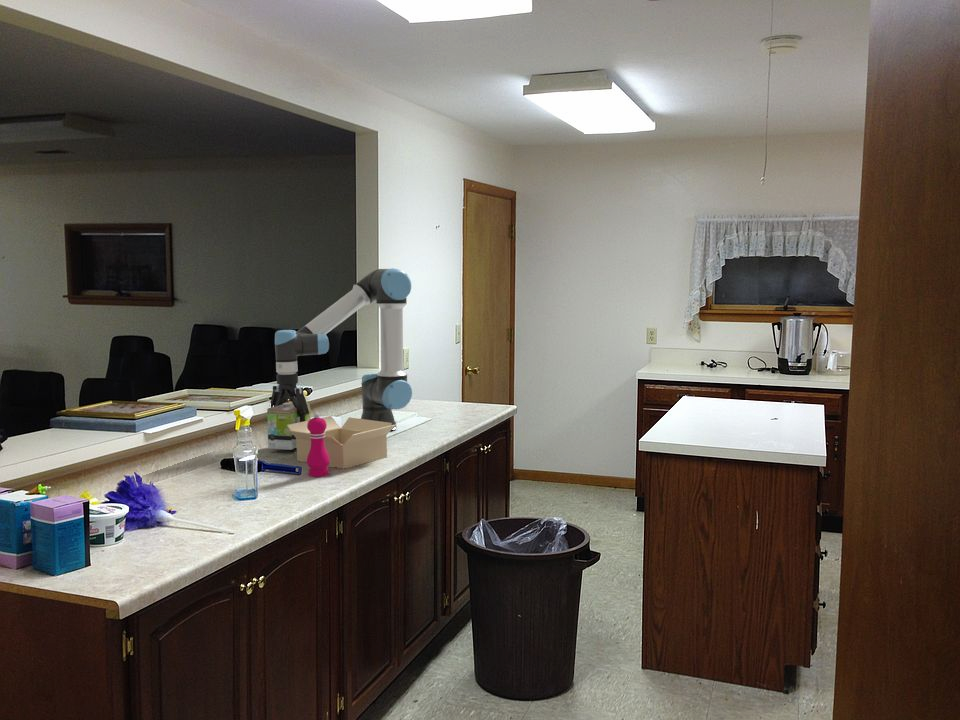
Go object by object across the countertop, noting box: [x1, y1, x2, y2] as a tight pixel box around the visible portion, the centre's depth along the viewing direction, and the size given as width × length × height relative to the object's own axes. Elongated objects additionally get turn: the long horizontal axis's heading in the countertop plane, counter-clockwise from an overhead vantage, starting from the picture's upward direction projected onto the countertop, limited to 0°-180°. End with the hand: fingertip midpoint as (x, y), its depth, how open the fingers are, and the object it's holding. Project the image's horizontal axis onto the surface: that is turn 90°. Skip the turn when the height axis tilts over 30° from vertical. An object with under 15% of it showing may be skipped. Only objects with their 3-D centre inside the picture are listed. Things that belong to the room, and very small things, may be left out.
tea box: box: [266, 402, 312, 451], centre depth 305 cm, size 15×10×15 cm
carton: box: [287, 415, 397, 470], centre depth 288 cm, size 28×32×12 cm
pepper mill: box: [306, 412, 330, 478], centre depth 266 cm, size 7×7×20 cm
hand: (289, 432), depth 306 cm, fingers closed on tea box, 12 cm apart
